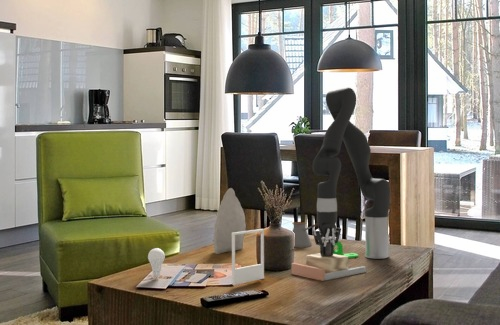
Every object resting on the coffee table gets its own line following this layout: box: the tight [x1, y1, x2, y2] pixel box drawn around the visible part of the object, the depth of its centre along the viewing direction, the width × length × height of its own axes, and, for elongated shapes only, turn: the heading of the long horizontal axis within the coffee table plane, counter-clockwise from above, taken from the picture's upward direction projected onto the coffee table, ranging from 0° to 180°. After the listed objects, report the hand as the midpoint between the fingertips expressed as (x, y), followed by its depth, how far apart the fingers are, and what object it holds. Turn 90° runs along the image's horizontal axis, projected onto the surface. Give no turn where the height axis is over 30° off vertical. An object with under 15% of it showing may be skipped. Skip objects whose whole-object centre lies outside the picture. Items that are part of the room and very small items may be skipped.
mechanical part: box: [333, 240, 359, 259], centre depth 258 cm, size 12×6×8 cm, turn 113°
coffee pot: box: [292, 221, 319, 248], centre depth 278 cm, size 21×12×15 cm, turn 44°
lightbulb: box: [147, 247, 166, 279], centre depth 222 cm, size 6×6×11 cm
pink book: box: [291, 262, 367, 282], centre depth 230 cm, size 24×16×4 cm
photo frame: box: [231, 228, 265, 286], centre depth 216 cm, size 15×1×18 cm, turn 133°
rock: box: [212, 187, 247, 255], centre depth 268 cm, size 19×9×30 cm, turn 136°
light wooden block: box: [305, 241, 349, 274], centre depth 229 cm, size 10×12×11 cm
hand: (327, 255), depth 229 cm, fingers closed on light wooden block, 3 cm apart
